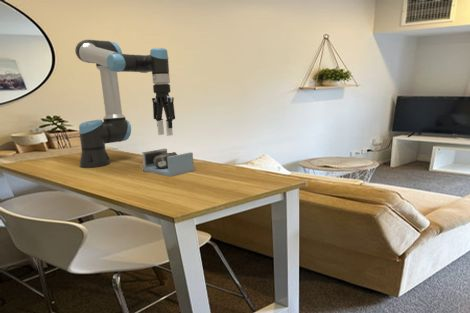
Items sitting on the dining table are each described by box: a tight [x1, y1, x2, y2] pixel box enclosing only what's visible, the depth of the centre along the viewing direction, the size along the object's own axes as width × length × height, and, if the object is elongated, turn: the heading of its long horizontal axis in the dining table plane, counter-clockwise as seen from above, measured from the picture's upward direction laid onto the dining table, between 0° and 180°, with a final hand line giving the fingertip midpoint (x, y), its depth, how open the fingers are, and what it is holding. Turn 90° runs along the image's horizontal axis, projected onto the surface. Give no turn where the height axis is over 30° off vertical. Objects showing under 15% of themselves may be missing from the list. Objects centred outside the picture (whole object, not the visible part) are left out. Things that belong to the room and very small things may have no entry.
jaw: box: [142, 148, 168, 167], centre depth 166 cm, size 2×13×7 cm, turn 138°
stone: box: [154, 151, 178, 168], centre depth 160 cm, size 14×7×10 cm, turn 137°
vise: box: [141, 152, 195, 177], centre depth 160 cm, size 22×14×8 cm, turn 47°
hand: (165, 134), depth 158 cm, fingers open, 6 cm apart
